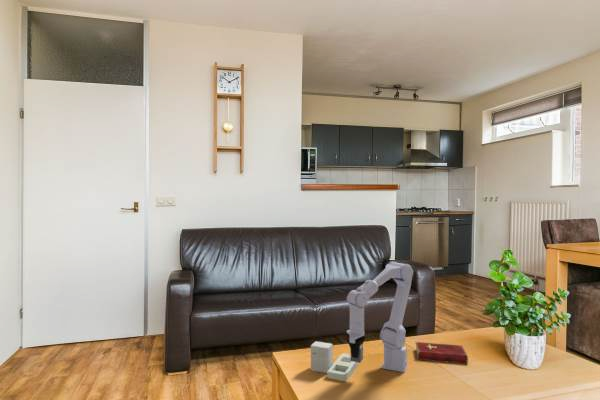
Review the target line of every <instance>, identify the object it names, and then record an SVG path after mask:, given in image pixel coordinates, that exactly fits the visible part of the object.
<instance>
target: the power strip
mask: <svg viewBox="0 0 600 400" xmlns="http://www.w3.org/2000/svg"><path fill="white" fill-rule="evenodd" d="M357 366H359V362H353V361H351V353H343V352H342V353H341V354H340V355H339V357H337V359H335V361H334V362H333V365H332V366H331V367H330V369H329V370H328V371H327V373H326V375H327V376H326V378H327V379H331V380H337V381H339V382H340V381H341V382H346V383H347V381H348V380H349V379H350V378H351V376H352V374H353V373H354V371H355V370H356V368H357Z"/></svg>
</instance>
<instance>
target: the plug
mask: <svg viewBox="0 0 600 400" xmlns="http://www.w3.org/2000/svg"><path fill="white" fill-rule="evenodd" d="M350 355H351V361H353V362H359V363H362V361H363V360H364V345H363V346H362V344H361V345H360V349H359V355H358V358H354V357H352V353H351V352H350Z"/></svg>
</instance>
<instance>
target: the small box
mask: <svg viewBox="0 0 600 400" xmlns="http://www.w3.org/2000/svg"><path fill="white" fill-rule="evenodd" d="M333 345H334V344H333V343H331V342H323V341H314V342H313V343H312V344H310V371H313V372H318V373H322V374H327V371H328V370H329V369H330V367H331V366H332V365H333V364H334V361H333V359H334V355H333V354H334V353H333V352H334V348H333V347H334V346H333Z"/></svg>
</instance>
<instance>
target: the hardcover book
mask: <svg viewBox="0 0 600 400" xmlns="http://www.w3.org/2000/svg"><path fill="white" fill-rule="evenodd" d="M415 346H416V347H415V349H416V354H417V360H424V361H433V360H435V361H436V362H445V361H448V362H449V363H456V362H460V363H459V364H467V363H468V364H469V355H468V353H467V350H465V347H464V346H463V345H461V344H451V343H450V344H449V343H447V344H446V343H438V342H437V343H436V342H426V341H425V342H424V341H415ZM448 362H447V363H448Z"/></svg>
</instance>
